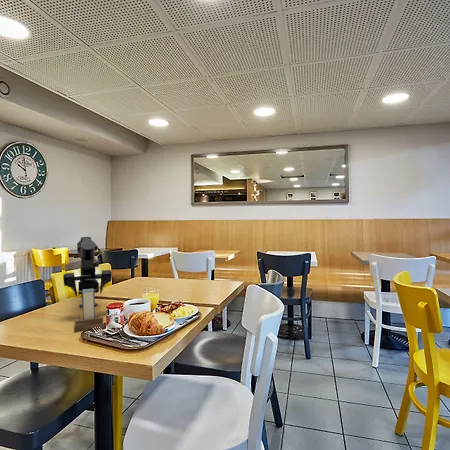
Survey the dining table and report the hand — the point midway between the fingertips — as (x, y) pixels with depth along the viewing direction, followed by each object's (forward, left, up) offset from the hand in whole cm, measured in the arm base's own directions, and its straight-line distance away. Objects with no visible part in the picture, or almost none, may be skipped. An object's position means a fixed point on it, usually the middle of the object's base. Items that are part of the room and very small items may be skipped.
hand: (88, 294), depth 128 cm
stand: (+9, -3, -10) cm, 14 cm away
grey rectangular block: (+9, -3, -8) cm, 13 cm away
